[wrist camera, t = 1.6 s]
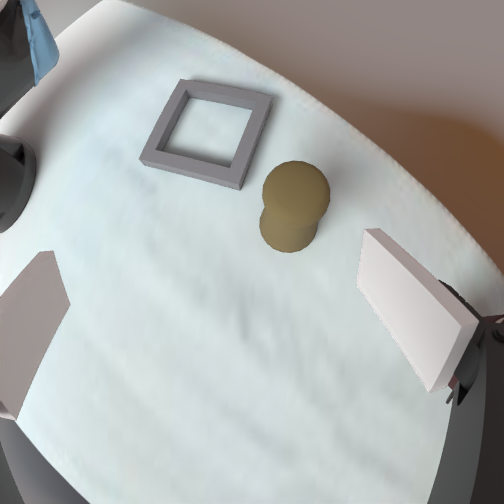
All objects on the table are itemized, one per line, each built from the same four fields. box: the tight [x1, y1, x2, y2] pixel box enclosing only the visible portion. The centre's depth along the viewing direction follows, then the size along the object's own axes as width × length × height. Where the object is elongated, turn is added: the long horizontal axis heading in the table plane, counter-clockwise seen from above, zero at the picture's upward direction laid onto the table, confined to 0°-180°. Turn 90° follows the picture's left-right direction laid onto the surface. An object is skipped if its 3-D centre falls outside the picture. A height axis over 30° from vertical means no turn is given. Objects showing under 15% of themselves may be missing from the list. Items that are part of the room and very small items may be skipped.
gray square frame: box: [139, 79, 272, 191], centre depth 34 cm, size 12×12×2 cm
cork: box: [259, 161, 330, 253], centre depth 27 cm, size 6×6×11 cm
